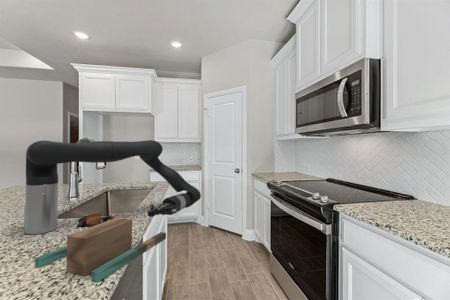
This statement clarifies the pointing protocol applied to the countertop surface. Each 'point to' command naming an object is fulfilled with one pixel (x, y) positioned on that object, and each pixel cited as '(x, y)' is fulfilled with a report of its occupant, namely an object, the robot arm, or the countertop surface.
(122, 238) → the walnut block
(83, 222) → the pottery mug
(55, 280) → the countertop surface
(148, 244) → the lane
